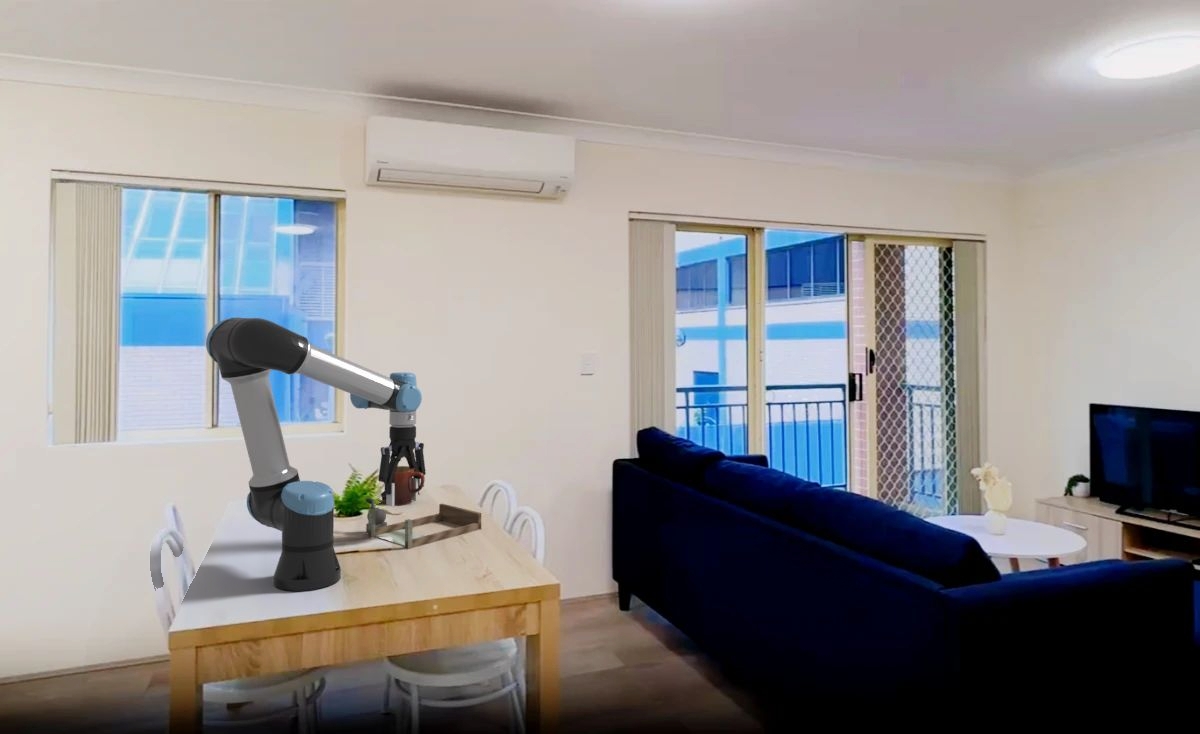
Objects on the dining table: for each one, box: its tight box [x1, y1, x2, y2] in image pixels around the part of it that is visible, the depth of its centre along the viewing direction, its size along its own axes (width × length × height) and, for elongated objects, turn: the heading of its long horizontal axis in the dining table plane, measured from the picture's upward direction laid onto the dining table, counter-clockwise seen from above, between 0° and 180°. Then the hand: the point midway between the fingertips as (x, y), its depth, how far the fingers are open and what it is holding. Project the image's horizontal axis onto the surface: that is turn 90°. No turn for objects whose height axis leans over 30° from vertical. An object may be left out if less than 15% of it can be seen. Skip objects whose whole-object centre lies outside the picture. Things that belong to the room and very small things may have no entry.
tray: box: [365, 497, 482, 550], centre depth 222 cm, size 28×25×10 cm
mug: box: [386, 465, 426, 507], centre depth 213 cm, size 12×9×10 cm
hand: (402, 502), depth 213 cm, fingers closed on mug, 8 cm apart
